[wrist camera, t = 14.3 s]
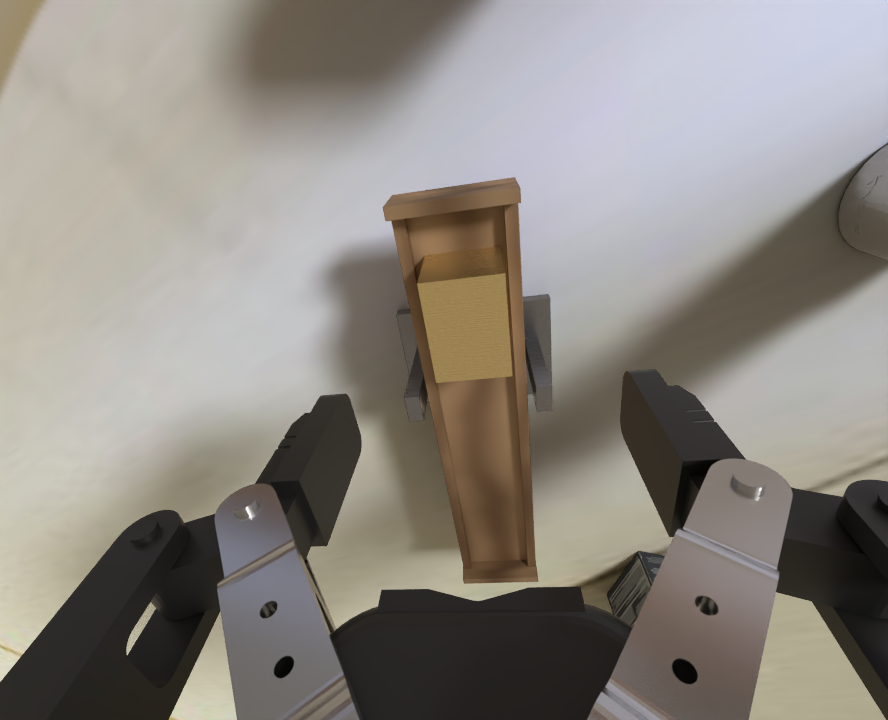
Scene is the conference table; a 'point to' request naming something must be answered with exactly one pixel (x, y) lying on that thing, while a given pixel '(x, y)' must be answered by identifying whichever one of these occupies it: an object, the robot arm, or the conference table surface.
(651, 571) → the small box
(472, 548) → the beam
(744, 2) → the conference table surface
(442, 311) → the wooden block
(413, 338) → the pivot stand
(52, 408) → the conference table surface
